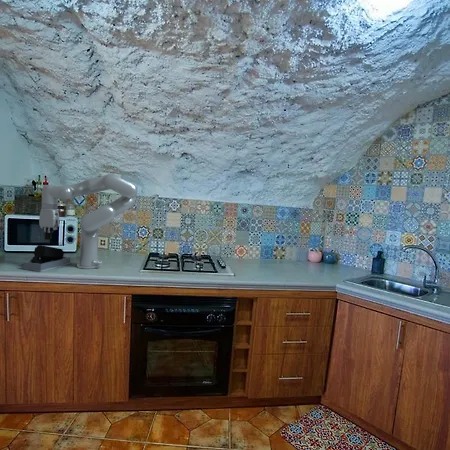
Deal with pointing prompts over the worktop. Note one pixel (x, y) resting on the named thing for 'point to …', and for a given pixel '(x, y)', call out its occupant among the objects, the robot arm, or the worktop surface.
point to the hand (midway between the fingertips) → (48, 239)
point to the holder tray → (46, 264)
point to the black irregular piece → (47, 254)
